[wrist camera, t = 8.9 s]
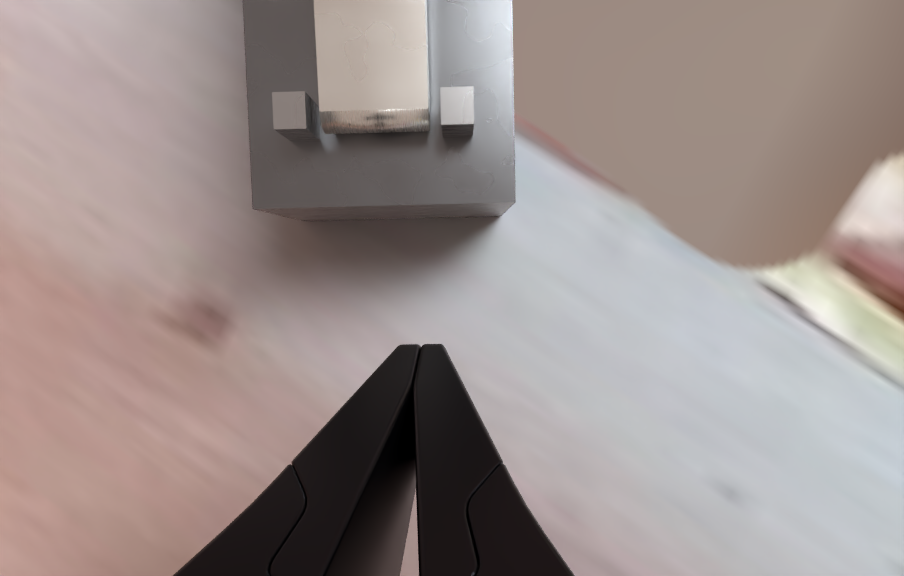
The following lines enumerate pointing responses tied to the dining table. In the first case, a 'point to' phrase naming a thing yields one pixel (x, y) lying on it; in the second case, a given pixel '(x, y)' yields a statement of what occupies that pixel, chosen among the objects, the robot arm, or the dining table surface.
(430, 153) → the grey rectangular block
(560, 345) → the dining table surface
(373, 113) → the light grey flat bar
